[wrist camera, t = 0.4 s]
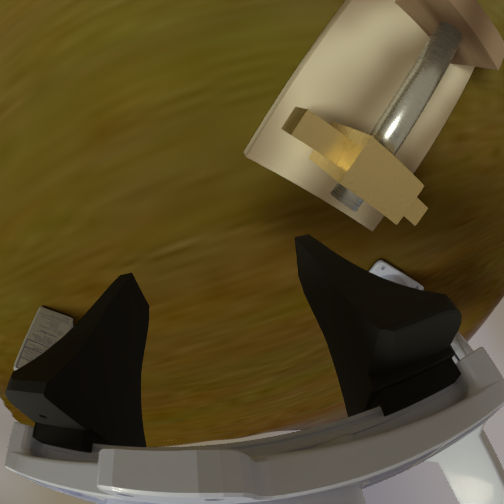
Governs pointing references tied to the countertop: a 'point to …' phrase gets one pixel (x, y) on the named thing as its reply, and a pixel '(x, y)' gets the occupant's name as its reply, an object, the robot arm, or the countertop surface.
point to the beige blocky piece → (372, 84)
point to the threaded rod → (410, 98)
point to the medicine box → (43, 335)
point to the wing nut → (359, 165)
